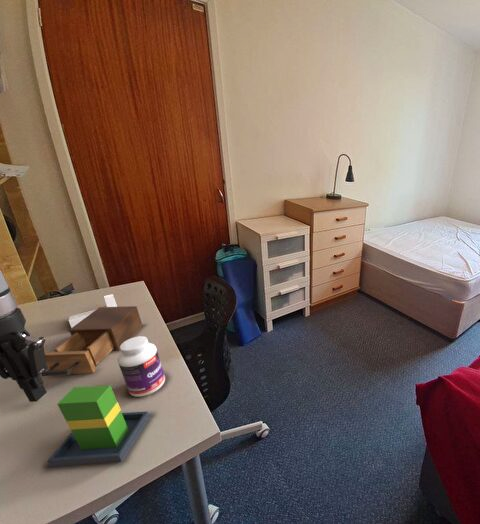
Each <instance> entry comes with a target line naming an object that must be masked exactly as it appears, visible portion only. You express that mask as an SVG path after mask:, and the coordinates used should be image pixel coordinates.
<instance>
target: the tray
mask: <svg viewBox="0 0 480 524" xmlns="http://www.w3.org/2000/svg"><path fill="white" fill-rule="evenodd" d="M121 413H122V415H123V418H124V420H125V422H126V425H127V427H128V431H127V433H126V434H125V436H124V437H123V439H122V440H121V442H120V443H119V445H118V446H117V447H114V448H100V449H86V450H81V448H80V446H79V444H78V442H77V440H76V439H75V437H74V435H73V433H72V432H71V433H70V434H69V435H68V436H67V437H66V438H65V440H64V441H63V442H62V443H61V445H60V446H59V447H58V448H57V449H56V450H55V451H54V452H53V454H52V455H51V456H50V457H49V458H48V459H47V463H48V464H49V466H50V468H57V467H69V466H81V465H95V464H108V463H121V462H123V460H124V459H125V458H126V456H127V454H128V453H129V451H130V449H131V448H132V446H133V444H134V443H135V441H136V440H137V438H138V437H139V435H140V433H141V432H142V430H143V428H144V427H145V425H146V423H147V422H148V420H149V419H150V414H149V411H134V412H133V411H132V412H121Z"/></svg>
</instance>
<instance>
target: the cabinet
mask: <svg viewBox="0 0 480 524" xmlns="http://www.w3.org/2000/svg"><path fill="white" fill-rule="evenodd" d="M96 309H97V310H95V309H94V310H95V311H94V312H93V313H91V314H90V315H89V316H87V317H86V318H84V319H83V320H82V321H80V322H79V323H78V324H76V325H75V326H74V327H72V328H71V327H70V328H69V329H68V332H69V333H70V337H71V336H72V335H73V334H74V333H76V332H93V331H109V332H110V334H111V337H112V340H113V342H114V345H115V348H114V349H113V350H112V351H111V352H117V351H121V349H120V346H121V344H122V343H123V342H125V341H126V340H128V339H130V338H133V337H135V335H136V334H137V333H138V332H139V331H140V330H141V329H142V328H143V323H142V319H141V316H140V313H139V310H138V306H136V305H135V306H133V305H132V306H117V307H106V306H100V307H98V308H96Z"/></svg>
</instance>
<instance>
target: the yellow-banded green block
mask: <svg viewBox="0 0 480 524" xmlns="http://www.w3.org/2000/svg"><path fill="white" fill-rule="evenodd" d="M57 406H58V408H59V410H60V412H61V414H62V416H63V418H64V420H65V423H66V425H67V427H68V429H69V430H70V431H71V433H73V435H74V437H75V439H76V440H77V442H78V444H79V446H80V448H81V450H86V449H100V448H114V447H117V446H118V445H119V443H120V442H121V440H122V439H123V437H124V436H125V434H126V433H127V431H128V427H127V425H126V422H125V420H124V418H123V415H122V413H123V412H122V409H121V407H120V404H119V402H118V401H117V398H116V395H115V393H114V391H113V389H112V386H111V385H94V386H93V385H92V386H75V387H72V389H71V390H69V392H68V393H67V394H66V395H64V396H63V398H62V399H61V400H59V401H58V402H57Z"/></svg>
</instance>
